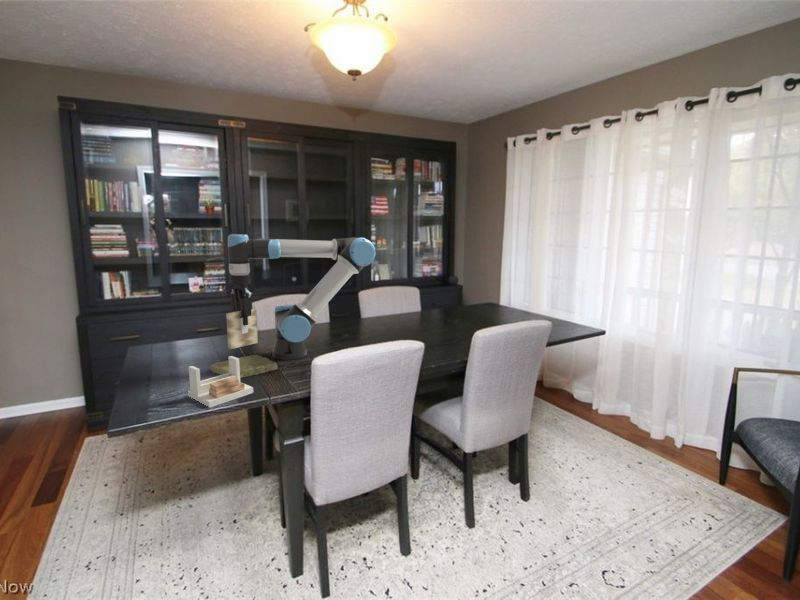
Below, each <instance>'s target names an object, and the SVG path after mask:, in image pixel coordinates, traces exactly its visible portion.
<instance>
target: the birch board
mask: <svg viewBox="0 0 800 600" xmlns="http://www.w3.org/2000/svg"><path fill="white" fill-rule="evenodd" d="M225 315H226V317H225V318H226V332H227V348H228V349H229V350H233V349H237V348H242V347H246V346H250V345H253V344H258V342H259V339H258V336H259V335H258V321H257V320H258V319H257V318H258V317H257V309H256V308H252V309H251V316H249V317H248V333H244V334H241V321H240V316H241V311H238V312H232V311H231V312H228V313H227V312H226V314H225Z"/></svg>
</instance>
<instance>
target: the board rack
mask: <svg viewBox="0 0 800 600" xmlns="http://www.w3.org/2000/svg"><path fill="white" fill-rule="evenodd" d="M239 358H240V357H236V356H233V355H230V356H228V360H229V373H227V374H223V375H216V376H214V377H213V376H212V377H210V378H207V379H203V380H201V369H200V368H198V367H196V366H194V365H191V366H188V376H189V377H188V379H189V390H188V391H187V397H188V396H189V397H188V398H190V397H191V398H190V399H192V398H193V399H195V400H197V401H199V402H200V403H199V402H198V403H199V404H201V403H202V405H203V404H204V406H205V405H206V406H205V407H207V406H208V408H212V407H216V406H219V405H221V404H224V403H227V402H230V401H233V400H236V399H240V398H242V397H245V396H248V395H251V394H253V393H254V387H253V386H250V385H249V384H246V383H243V382H242V383H243V384H244V387H245V390H242V391H239V392H235V393H232V394H229V395H226V396H223V397H220V398H215V397H213V396H211V395H209V389H210V383H213V382H217V381H220V380H223V379H227V378H230V377H233V378H236V379H238V381H239V382H241V378H240V364H239ZM193 399H192V400H193ZM195 400H194V401H195ZM197 401H196V402H197Z"/></svg>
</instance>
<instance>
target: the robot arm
mask: <svg viewBox="0 0 800 600" xmlns="http://www.w3.org/2000/svg"><path fill="white" fill-rule="evenodd" d="M227 252H228V255H227V256H228V271H229V285H232V289H229V290H228V293H229V297H230V302H231V303H230V304H231V310H232V311H231V313H232V312H238V311H241V316H240V321H241V334H244V333H248V317H249V316H251V309H253V308H252V307H253V305H252V304H253V303H252V302H253V295H254V292H253V291H251V292H250V290H249V286H248V285H250V284H251V275H250V273H251V268H250V260H254V259H258V260H259V259H261V260H263V259H265V260H267V259H270V260H273V259H279V258H280V257H282V258H285V257H286V258H322V259H323V258H327V259H330V258H331V260H334V261H336V263H334V265H332V267H331V268H330V269H329V270H328V272H327V273H326V274H324V276H323V277H322V278H321V279H320V280H319V282H318V283H316V285H315V286H314V287H313V289H312V290H310V292H309V293H308V294H307V295H306V296H305V298H304V299H303V300H301V302H299V303H294V304H288V305H287V304H286V305H285V304H284V305H277V306H275V308H274V313H273V314H274V320H275V321H274V322H275V323H274V325H275V341H274V345H273V349H272V357H273V358H274V359H275V360H276V359H277V360H281V361H283V360H284V361H286V360H290V361H291V360H297V359H301V358H304V357H305V356H307V354H308V353H307V351H308V349H307V347H306V343H305V341H304V340H306V339H307V338H308V337H309V335H310V333H311V330H312V327H314V325H315V324H316V323H317V316H318V315H319V313H321V312H322V310H324V308H325V307H326V306H327V304H328V303H329V302H330V301H331V300H332V299H333V298H334V297H335V296H336V295H337V293H338V292H339V291H340V290H341V288H342V287H343V286H344V285H345V284H346V283H347V282H348V280H349V279H350V278H351V277H352V276H353V275H355V274H359V273H360V272H361V271H362V270H363V268H364V267H367V266H369V265H371V264H372V263H373V261H375V257H376V254H377V253H376V248H375V245H374V243H373V242H371V240H369V239H367V238H365V237H355V236H354V237H347V238H333V239H332V240H316V239H315V240H313V239H312V240H311V239H284V238H283V239H281V238H264V237H263V238H261V237H259V238H257V239H250V238H249V235H248V234H237V233H236V234H232V233H231V234H228V235H227Z"/></svg>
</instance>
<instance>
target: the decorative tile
mask: <svg viewBox="0 0 800 600" xmlns="http://www.w3.org/2000/svg"><path fill="white" fill-rule="evenodd" d="M238 358H239V364H240V379H241V378H245V377H250V376H256V375H260V373H261V374H265V373H267V372H271V371H275V370H278V364H277V362H275V361H273V360H271V359H269V358H267V357H263V356H261V355H258V354H252V355H251V354H250V355H247V356H241V357H238ZM210 371H211V372H213V373H215V374H217V375H218V376H220V375H223V374H227V373H229V359H228V360H224V361H220V362H219V361H218V362H214V363H212V364H211V365H210Z"/></svg>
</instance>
